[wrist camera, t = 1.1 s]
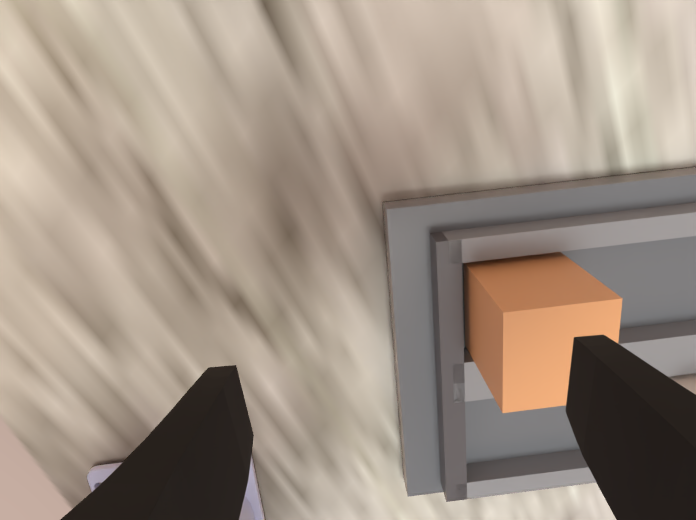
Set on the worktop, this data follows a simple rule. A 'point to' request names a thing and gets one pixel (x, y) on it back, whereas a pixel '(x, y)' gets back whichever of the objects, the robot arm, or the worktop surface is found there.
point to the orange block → (532, 324)
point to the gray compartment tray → (513, 241)
